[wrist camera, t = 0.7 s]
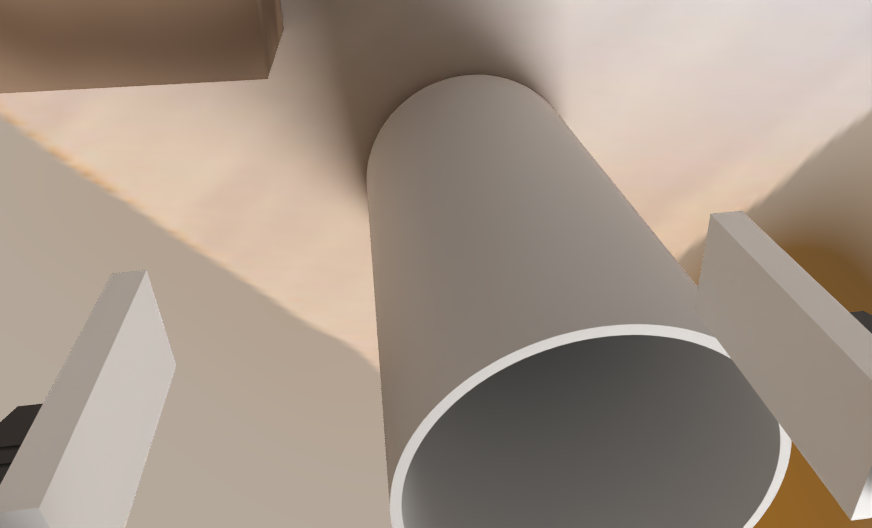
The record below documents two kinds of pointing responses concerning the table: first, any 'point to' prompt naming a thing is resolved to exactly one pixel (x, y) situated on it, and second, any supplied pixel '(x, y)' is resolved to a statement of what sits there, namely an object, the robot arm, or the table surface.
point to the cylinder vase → (544, 336)
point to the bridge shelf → (134, 42)
